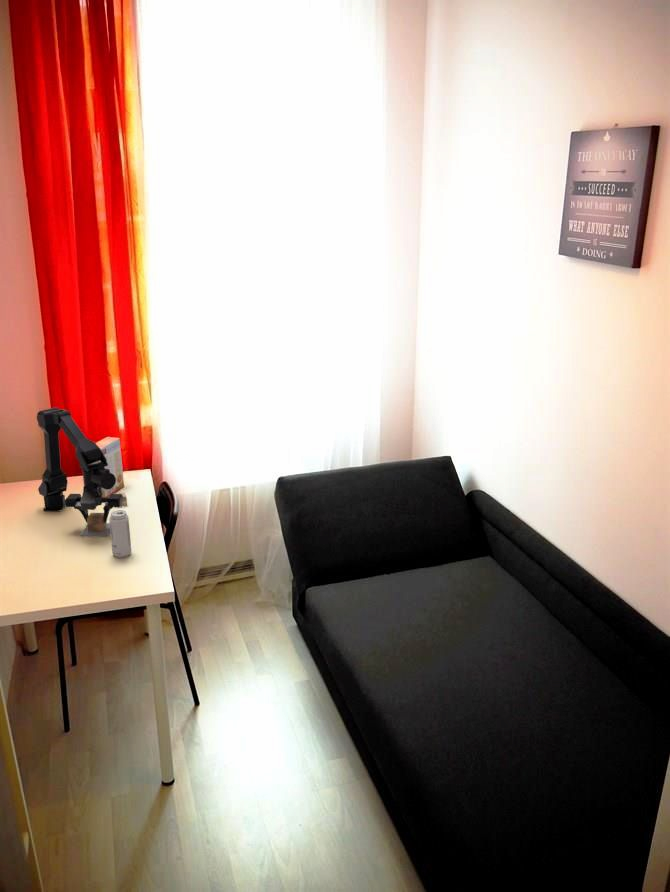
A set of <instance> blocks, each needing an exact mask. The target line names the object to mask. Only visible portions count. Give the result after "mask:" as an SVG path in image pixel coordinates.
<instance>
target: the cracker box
mask: <svg viewBox="0 0 670 892" xmlns="http://www.w3.org/2000/svg"><path fill="white" fill-rule="evenodd" d="M120 442H121V441H120V437H112V436H107V437H105V438H102V439H100V440H99V441H97V442H95V444H96V445H97V446H98V447H99V448H100V449H101V450H102V453H103V454H104V456H105V458H106V459H107V463H108V466H106V467H104V468H106V469H109V470H110V473H112V474H113V475H114V476H115V478H116V483H115V485H114V486H113V487H112V488H111V489H109V490H106V489H103V488H102V492H103V497H110V495H111V494H116V492H117V491H119V490H120V489H122V488H124V487H125V481H124V480H125V479H124V470H123V464H122V463H123V462H122V461H123V460H122V451H121V450H122V449H121V443H120ZM99 462H101V461H98V462H95V463H92V464H96V463H99Z"/></svg>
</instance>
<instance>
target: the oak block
mask: <svg viewBox="0 0 670 892" xmlns="http://www.w3.org/2000/svg"><path fill="white" fill-rule="evenodd" d="M118 494H122V496H123V502H122V504H121V506H120V507H119V508H123V507H122V506H124V507H128V501H127V500H128V499H127V494H126V492H121V493H118Z"/></svg>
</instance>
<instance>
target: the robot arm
mask: <svg viewBox="0 0 670 892" xmlns="http://www.w3.org/2000/svg"><path fill="white" fill-rule="evenodd" d="M36 421H37V423H38V427H39V428H40V429H41V430H42V432H43V440H44V452H45V466H46V468H45V470H44V472H43V474H42V476H41V477H42V478H41V483H40V485H39V487H38V489H37V491H38V493H39V495H40V496H42V497H43V502H44V508H43V512H61V511H62V510H63V508H65V507H66V508H73V509H75V510H78V511H79V512H80V513H81V515H82V517H83V519H84V521H85V522H86V524H87V518H88V516H89V511H90V510H91V511H94V510H96V509H97V507H98V506H102V504H104V506H103V508H102V510H103V513H104V523H108V522H107V521H108V519H109V514H110V510H112V509H113V508H116V507H117V508H121V507H120V506H121V504H122V502H123V496H122V494H119V493H113V494H111V495H110V496H109V497H103V492H102V488H103V489H106V490H109V489H111V488H112V487H113V486H114V485H115V483H116V478H115V476H114V475H113V474H112V473H110V470H109V469H106V468H104V467H106V466H108V463H107V459H106V458H105V456H104V454H103V453H102V450H101V449H100V448H99V447H98V446H97V445H96V444H95V443H96V442H95V441H93V440H91V439H88V438H87V437H86V436H85V434H84V433H83V432H82V430H81V429H80V427H79V426H78V424H77V423H76V422H75V420H74V419H73V417H72V414H71V412H70V411H69V410H66V409H59V408H58V407H57V406H56V407H52V408H51V407H50V408H45V409H42V410H39V411H38V412H37V415H36ZM61 430H62V431H63V433H64V434H65V436H66V438H68V440H69V441H70V443H71V444H72V446H73V447H74V449H75V453H74V454H75V457H76V459H77V462H79V466H78V467H79V468H81V470H82V477H83V478H82V480H83V489H82V495H81V493H69V495H68V496H67V497H66V496H65V494H64V492H67V489H68V484H69V482H68V475H67V473H65V472H64V470H62V467H61V452H60V449H61V448H60V435H59V434H60V433H59V432H60V431H61ZM98 461H101V462H99V463H96V464H92V463H95V462H98Z"/></svg>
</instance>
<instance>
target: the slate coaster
mask: <svg viewBox="0 0 670 892" xmlns="http://www.w3.org/2000/svg"><path fill="white" fill-rule="evenodd" d="M109 533H110V522H106V527H105V529H104V530H103V532H88V527H87V525H86V526H85V527H84V529H83V530H82V532H81V533H80V536H81V537H107V536H108V535H109Z"/></svg>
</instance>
